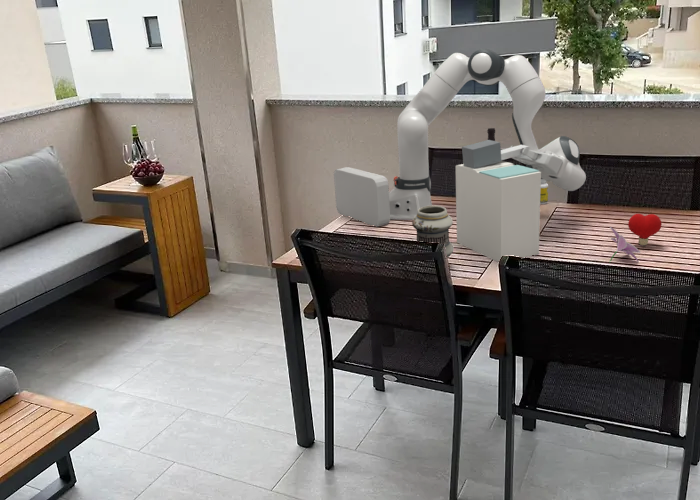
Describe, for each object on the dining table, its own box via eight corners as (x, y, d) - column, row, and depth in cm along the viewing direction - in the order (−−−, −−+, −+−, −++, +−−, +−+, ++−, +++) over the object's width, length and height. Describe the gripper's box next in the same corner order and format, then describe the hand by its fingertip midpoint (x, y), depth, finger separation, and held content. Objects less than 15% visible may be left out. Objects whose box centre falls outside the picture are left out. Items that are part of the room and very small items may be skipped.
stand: (492, 234, 223) (492, 158, 215) (538, 254, 203) (541, 170, 194) (456, 242, 218) (455, 164, 210) (500, 263, 197) (501, 178, 189)
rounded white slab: (395, 223, 243) (393, 175, 237) (378, 228, 239) (376, 179, 233) (352, 209, 266) (349, 164, 260) (336, 213, 262) (333, 168, 256)
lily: (638, 274, 186) (653, 242, 184) (597, 256, 188) (612, 225, 187) (629, 271, 197) (643, 242, 196) (591, 255, 199) (605, 225, 198)
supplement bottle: (532, 204, 254) (532, 179, 251) (534, 200, 259) (534, 176, 256) (547, 204, 252) (547, 179, 249) (548, 201, 257) (549, 176, 254)
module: (519, 150, 215) (518, 132, 213) (531, 153, 210) (530, 134, 207) (463, 165, 208) (461, 146, 205) (474, 168, 202) (472, 149, 200)
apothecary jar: (419, 276, 192) (417, 216, 186) (409, 262, 204) (406, 206, 198) (459, 271, 194) (458, 212, 188) (446, 257, 205) (445, 201, 199)
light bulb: (658, 242, 205) (661, 211, 202) (660, 250, 199) (663, 218, 195) (626, 241, 208) (628, 210, 205) (627, 248, 202) (629, 217, 198)
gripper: (530, 151, 226) (501, 135, 219) (572, 161, 208) (542, 144, 201) (522, 168, 227) (493, 153, 220) (563, 179, 209) (533, 163, 202)
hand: (517, 149), depth 211 cm, fingers closed on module, 4 cm apart
